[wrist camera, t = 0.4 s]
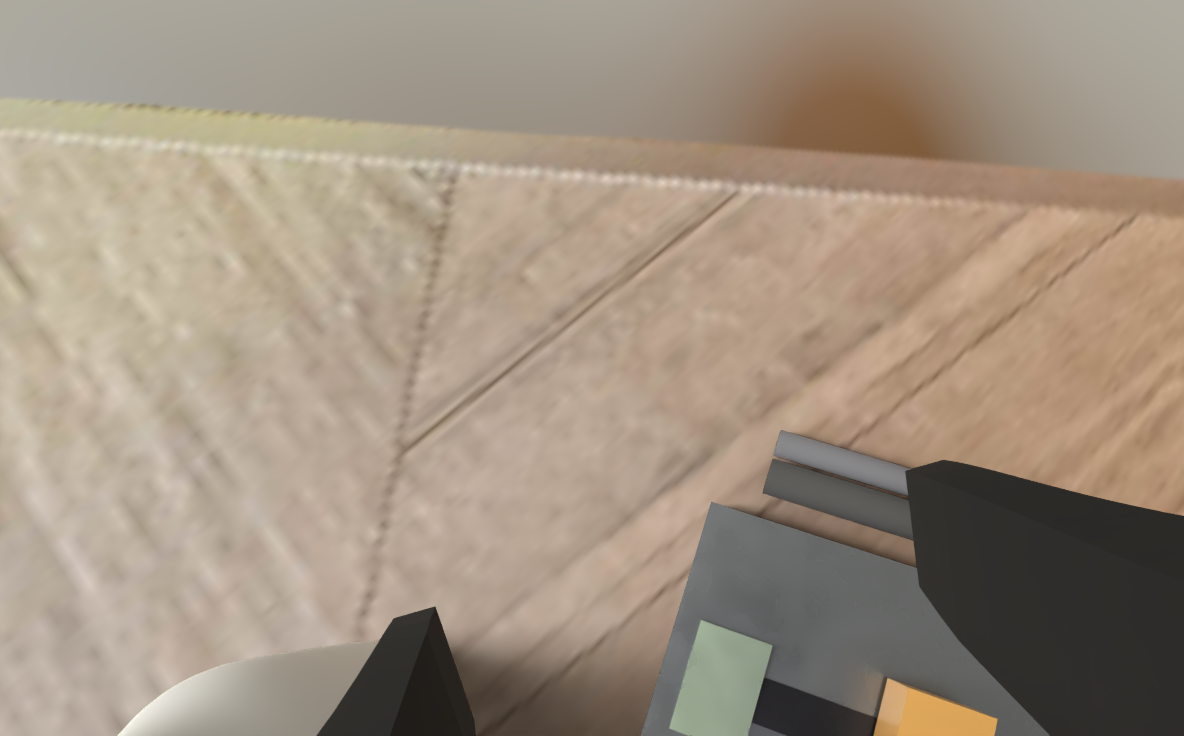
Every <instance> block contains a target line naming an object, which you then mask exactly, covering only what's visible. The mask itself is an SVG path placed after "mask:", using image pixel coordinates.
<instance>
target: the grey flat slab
mask: <svg viewBox="0 0 1184 736" xmlns="http://www.w3.org/2000/svg"><path fill="white" fill-rule="evenodd" d="M887 678H889V679H892V680H895V681H898V682H901V683H904V684H906V685H909V686H912V687H915V688H918V689H921V690H923V691H926V692H929V693H932V694H935V695H938V696H940V697H943V698H946V699H949V700H952V701H955V702H958V703H960V704H963V705H966V706H968V707H971V708H973V709H975V710H978V711H980V712H982V713H985V714H987V715H989V716H992V717H994V718H996V719H998V720H997V725H996V730H995V734H994V736H1050V735H1049V734H1048V733H1047V732H1046V731H1045V730H1044V729H1043V728H1042V727H1041V726H1040V725H1039V724H1038V723H1037V722H1036V721H1035V720H1034V719H1033V718H1032V717H1031V715H1030V714H1029V713H1028V712H1027V711H1026V710H1025V709H1024V708H1023V707H1022V706H1021V705H1020V704H1019V703H1018V702H1017V701H1016V700H1015V699H1014V698H1013V697H1012V696H1011V695H1010V694H1009V693H1008V692H1007V691H1006V690H1005V689H1004V688H1003V687H1002V686H1001V685H1000V684H999V683H998V682H997V681H996V679H995V678H994V677H993V676H992V675H991V674H990V673H989V672H988V671H987V670H986V669H985V668H984V667H983V666H982V665H981V664H980V663H979V662H978V661H977V660H976V658H975V657H974V656H973V655H972V654H971V653H970V652H969V651H968V650H967V649H966V648H965V647H964V646H963V645H962V644H961V642H960V641H959V640H958V639H957V638H956V636H955V635H954V634H953V632H952V631H951V630H950V628H949V627H948V626H947V625H946V623H945V622H944V621H943V619H942V618H941V617H940V615H939V614H938V612H937V611H936V610H935V608H934V607H933V605H932V604H931V603H930V601H929V600H928V598H927V597H926V595H925V594H924V593H923V591H922V590H921V588H920V587H919V581H918V573H917V568H915V567H912V566H909V565H906V564H903V563H900V562H896V561H893V560H890V559H887V558H884V557H881V556H878V555H875V554H872V553H868V552H865V551H862V550H859V549H856V548H853V547H850V546H847V545H844V544H840V543H837V542H834V541H831V540H828V539H825V538H822V537H819V536H816V535H812V534H809V533H806V532H803V531H800V530H797V529H794V528H791V527H788V526H784V525H781V524H778V523H775V522H772V521H769V520H766V519H763V518H760V517H757V516H753V515H750V514H747V513H744V512H741V511H738V510H735V509H732V508H729V507H725V506H722V505H719V504H716V503H713V502H711V505H710V508H709V511H708V515H707V518H706V521H705V525H704V528H703V531H702V535H701V538H700V541H699V544H698V548H697V551H696V554H695V558H694V561H693V564H692V568H691V571H690V574H689V578H688V581H687V584H686V588H685V591H684V594H683V597H682V601H681V604H680V607H679V611H678V614H677V617H676V621H675V624H674V627H673V631H672V634H671V637H670V640H669V644H668V647H667V650H666V654H665V657H664V660H663V664H662V667H661V670H660V674H659V677H658V680H657V683H656V687H655V690H654V693H653V697H652V700H651V703H650V707H649V710H648V713H647V717H646V720H645V723H644V727H643V730H642V733H641V736H874V731H875V727H876V723H877V719H878V715H879V711H880V707H881V703H882V699H883V695H884V690H885V686H886V682H887Z"/></svg>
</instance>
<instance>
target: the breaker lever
mask: <svg viewBox="0 0 1184 736" xmlns="http://www.w3.org/2000/svg"><path fill="white" fill-rule="evenodd" d="M997 720H998V719H996V718H994V717H992V716H989V715H987V714H985V713H982V712H980V711H978V710H975V709H973V708H971V707H968V706H966V705H963V704H960V703H958V702H955V701H952V700H949V699H946V698H943V697H940V696H938V695H935V694H932V693H929V692H926V691H923V690H921V689H918V688H915V687H912V686H909V685H906V684H904V683H901V682H898V681H895V680H892V679H889V678H887V682H886V686H885V690H884V695H883V699H882V703H881V707H880V711H879V715H878V719H877V723H876V727H875V731H874V736H994V734H995V730H996V725H997Z"/></svg>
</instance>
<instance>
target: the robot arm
mask: <svg viewBox="0 0 1184 736" xmlns="http://www.w3.org/2000/svg"><path fill="white" fill-rule="evenodd" d="M905 474H906V482H907V491H908V499H909V507H910V515H911V523H912V532H913V540H914V548H915V556H916V564H917V573H918V581H919V587H920V588H921V590H922V591H923V593H924V594H925V595H926V597H927V598H928V600H929V601H930V603H931V604H932V605H933V607H934V608H935V610H936V611H937V612H938V614H939V615H940V617H941V618H942V619H943V621H944V622H945V623H946V625H947V626H948V627H949V628H950V630H951V631H952V632H953V634H954V635H955V636H956V638H957V639H958V640H959V641H960V642H961V644H962V645H963V646H964V647H965V648H966V649H967V650H968V651H969V652H970V653H971V654H972V655H973V656H974V657H975V658H976V660H977V661H978V662H979V663H980V664H981V665H982V666H983V667H984V668H985V669H986V670H987V671H988V672H989V673H990V674H991V675H992V676H993V677H994V678H995V679H996V681H997V682H998V683H999V684H1000V685H1001V686H1002V687H1003V688H1004V689H1005V690H1006V691H1007V692H1008V693H1009V694H1010V695H1011V696H1012V697H1013V698H1014V699H1015V700H1016V701H1017V702H1018V703H1019V704H1020V705H1021V706H1022V707H1023V708H1024V709H1025V710H1026V711H1027V712H1028V713H1029V714H1030V715H1031V717H1032V718H1033V719H1034V720H1035V721H1036V722H1037V723H1038V724H1039V725H1040V726H1041V727H1042V728H1043V729H1044V730H1045V731H1046V732H1047V733H1048V734H1049V735H1050V736H1184V516H1181V515H1175V514H1170V513H1165V512H1160V511H1156V510H1151V509H1146V508H1141V507H1137V506H1132V505H1127V504H1123V503H1118V502H1114V501H1109V500H1105V499H1101V498H1097V497H1093V496H1088V495H1084V494H1080V493H1076V492H1072V491H1069V490H1065V489H1061V488H1057V487H1053V486H1049V485H1046V484H1042V483H1038V482H1034V481H1030V480H1027V479H1023V478H1019V477H1015V476H1012V475H1008V474H1004V473H1000V472H997V471H993V470H989V469H985V468H981V467H977V466H972V465H968V464H964V463H959V462H953V461H947V460H941V461H938V462H934V463H931V464H927V465H924V466H920V467H917V468H913V469H910V470H907V471H905ZM316 736H476V733H475V724H474V718H473V715H472V712H471V710H470V707H469V704H468V701H467V698H466V695H465V692H464V689H463V686H462V683H461V680H460V677H459V674H458V671H457V668H456V666H455V663H454V660H453V657H452V654H451V651H450V648H449V645H448V642H447V639H446V636H445V633H444V630H443V627H442V624H441V622H440V619H439V616H438V613H437V610H436V607H432V608H428V609H425V610H421V611H418V612H414V613H411V614H407V615H404V616H400V617H397V618H394V619H393V620H392V622H391V623H390V625H389V626H388V628H387V629H386V631H385V633H384V634H383V636H382V637H381V639H380V640H379V642H378V644H377V645H376V647H375V648H374V650H373V652H372V653H371V655H370V656H369V658H368V659H367V661H366V663H365V664H364V666H363V667H362V669H361V671H360V672H359V674H358V675H357V677H356V678H355V680H354V682H353V683H352V685H351V686H350V688H349V689H348V691H347V692H346V694H345V695H344V697H343V698H342V700H341V701H340V703H339V704H338V706H337V707H336V709H335V710H334V712H333V713H332V715H331V716H330V718H329V719H328V720H327V722H326V723H325V724H324V726H323V727H322V728H321V730H320V731H319V732H318V734H317V735H316Z"/></svg>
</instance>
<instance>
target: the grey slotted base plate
mask: <svg viewBox="0 0 1184 736" xmlns="http://www.w3.org/2000/svg"><path fill="white" fill-rule="evenodd" d="M774 456H777V457H780V458H783V459H787V460H790V461H793V462H797V463H800V464H803V465H806V466H810V467H813V468H816V469H820V470H823V471H826V472H829V473H833V474H836V475H839V476H843V477H846V478H849V479H853V480H856V481H859V482H862V483H866V484H869V485H872V486H876V487H879V488H882V489H885V490H889V491H892V492H895V493H899V494H902V495H905V496H908V491H907V482H906V474H905V471H907V470H910V469H911V468H907V467H904V466H901V465H897V464H894V463H890V462H887V461H884V460H880V459H877V458H874V457H870V456H867V455H864V454H860V453H857V452H853V451H850V450H847V449H843V448H840V447H837V446H833V445H830V444H826V443H823V442H820V441H816V440H813V439H810V438H806V437H803V436H800V435H796V434H793V433H789V432H786V431H783V430H781V431H780V434H779V437H778V441H777V444H776V448H775V451H774ZM763 493H764V494H767V495H770V496H773V497H777V498H780V499H783V500H786V501H789V502H792V503H796V504H799V505H802V506H805V507H808V508H812V509H815V510H818V511H821V512H824V513H827V514H831V515H834V516H837V517H840V518H843V519H846V520H850V521H853V522H856V523H859V524H862V525H866V526H869V527H872V528H875V529H878V530H881V531H885V532H888V533H891V534H894V535H897V536H900V537H904V538H907V539H910V540H913V532H912V523H911V515H910V507H909V500H907V499H904V498H900V497H897V496H894V495H891V494H887V493H884V492H881V491H878V490H874V489H871V488H868V487H864V486H861V485H858V484H855V483H851V482H848V481H845V480H841V479H838V478H835V477H832V476H828V475H825V474H822V473H818V472H815V471H812V470H809V469H805V468H802V467H799V466H796V465H792V464H789V463H786V462H782V461H779V460H776V459H772V462H771V465H770V469H769V472H768V475H767V479H766V482H765V486H764V490H763ZM913 541H914V540H913Z"/></svg>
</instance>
